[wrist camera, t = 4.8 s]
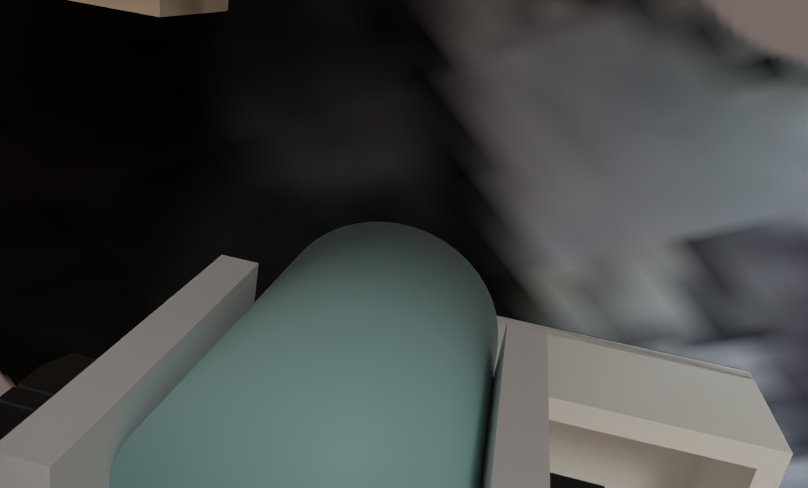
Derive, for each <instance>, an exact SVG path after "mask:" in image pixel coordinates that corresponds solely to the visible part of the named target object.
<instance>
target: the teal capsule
mask: <svg viewBox="0 0 808 488" xmlns="http://www.w3.org/2000/svg"><path fill="white" fill-rule="evenodd" d="M497 347H498V324H497V317H496V312H495V308H494V305H493V301H492V299H491V296H490V294H489V292H488V290H487V287H486V286H485V284H484V282H483V281H482V279H481V277H480V276H479V274H478V273H477V272H476V270H475V269H474V268H473V267H472V265H471V264H470V263H469V262H468V261H467V260H466V259H465V258H464V257H463V256H462V255H461V254H460V253H459V252H458V251H457V250H455V249H454V248H453V247H451V246H450V245H448V244H447V243H446V242H444V241H442V240H441V239H439V238H437V237H435V236H434V235H432V234H430V233H427V232H425V231H422V230H420V229H417V228H414V227H410V226H407V225H403V224H397V223H390V222H365V223H357V224H353V225H349V226H345V227H341V228H339V229H336V230H334V231H331V232H329V233H327V234H325V235H324V236H322V237H320V238H318V239H317V240H315V241H314V242H313V243H312V244H310V245H309V246H308V247H307V248H305V249H304V250H303V251H302V253H301V254H300V255H299V256H298V257H297V258H296V259H295V260H294V261H293V262H292V263H291V264H290V265H289V266H288V267H287V268H286V270H285V271H284V272H283V273H282V274H281V275H280V276H279V277H278V278H277V279H276V280H275V281H274V282H273V283H272V284H271V286H270V287H269V288H268V289H267V290H266V291H265V292H264V293H263V294H262V295H261V296H260V297H259V298H258V299H257V300H256V302H255V303H254V304H253V305H252V306H251V307H250V308H249V309H248V310H247V311H246V312H245V313H244V314H243V315H242V316H241V318H240V319H239V320H238V321H237V322H236V323H235V324H234V325H233V326H232V327H231V328H230V329H229V330H228V331H227V332H226V334H225V335H224V336H223V337H222V338H221V339H220V340H219V341H218V342H217V343H216V344H215V345H214V346H213V347H212V349H211V350H210V351H209V352H208V353H207V354H206V355H205V356H204V357H203V358H202V359H201V360H200V361H199V362H198V363H197V365H196V366H195V367H194V368H193V369H192V370H191V371H190V372H189V373H188V374H187V375H186V376H185V377H184V378H183V379H182V381H181V382H180V383H179V384H178V385H177V386H176V387H175V388H174V389H173V390H172V391H171V392H170V393H169V394H168V395H167V397H166V398H165V399H164V400H163V401H162V402H161V403H160V404H159V405H158V406H157V407H156V408H155V409H154V410H153V411H152V413H151V414H150V415H149V416H148V417H147V418H146V419H145V420H144V421H143V422H142V423H141V424H140V425H139V426H138V427H137V429H136V430H135V431H134V432H133V433H132V434H131V435H130V436H129V437H128V439H127V440H126V442H125V443H124V445H123V446H122V448H121V449H120V451H119V452H118V454H117V456H116V459H115V461H114V463H113V465H112V467H111V470H110V477H109V488H480V487H481V479H482V470H483V462H484V453H485V445H486V436H487V428H488V419H489V411H490V402H491V394H492V385H493V377H494V373H495V364H496V355H497Z"/></svg>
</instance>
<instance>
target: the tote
mask: <svg viewBox="0 0 808 488" xmlns="http://www.w3.org/2000/svg"><path fill="white" fill-rule="evenodd" d="M496 317H497V324H498V347H497V355H496V364H495V369H496V365H497V361H498V357H499V353H500V349H501V345H502V341H503V337H504V333H505V329H506V325H507V322H511V323H515V324H519V325H523V326H528V327H532V328H536V329H540V330H545V331H547V350H548V401H549V453H550V472H551V473H555V474H559V475H562V476H566V477H570V478H574V479H578V480H582V481H586V482H590V483H594V484H598V485H602V486H604V487H605V488H779V486H780V483H781V481H782V479H783V476H784V474H785V472H786V469H787V467H788V464H789V462H790V460H791V457H792V455H793V453H792V451H791V449H790V447H789V445H788V443H787V441H786V440H785V438H784V436H783V434H782V432H781V430H780V428H779V426H778V424H777V422H776V421H775V419H774V417H773V415H772V413H771V411H770V409H769V407H768V405H767V404H766V402H765V400H764V398H763V396H762V394H761V392H760V390H759V388H758V386H757V385H756V383H755V381H754V379H753V377H752V375H751V373H750V372H748V371H744V370H739V369H735V368H730V367H726V366H721V365H717V364H712V363H708V362H703V361H699V360H694V359H690V358H685V357H681V356H676V355H672V354H667V353H663V352H658V351H654V350H649V349H645V348H640V347H636V346H631V345H627V344H622V343H618V342H613V341H609V340H604V339H600V338H595V337H591V336H586V335H582V334H578V333H573V332H569V331H564V330H560V329H555V328H551V327H546V326H542V325H537V324H533V323H528V322H524V321H519V320H515V319H510V318H506V317H501V316H497V315H496Z"/></svg>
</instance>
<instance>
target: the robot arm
mask: <svg viewBox="0 0 808 488" xmlns="http://www.w3.org/2000/svg"><path fill="white" fill-rule="evenodd" d="M258 264H259V263H255V262H251V261H246V260H242V259H238V258H234V257H229V256H225V255H221V256H220V257H219V258H217V259H216V260H215V261H214V262H213V263H212V264H210V265H209V266H208V267H207V268H206V269H204V270H203V271H202V272H201V273H200V274H198V275H197V276H196V277H195V278H194V279H192V280H191V281H190V282H189V283H188V284H186V285H185V286H184V287H183V288H182V289H180V290H179V291H178V292H177V293H176V294H174V295H173V296H172V297H171V298H170V299H168V300H167V301H166V302H165V303H164V304H163V305H161V306H160V307H159V308H158V309H157V310H155V311H154V312H153V313H152V314H151V315H149V316H148V317H147V318H146V319H145V320H143V321H142V322H141V323H140V324H139V325H137V326H136V327H135V328H134V329H133V330H131V331H130V332H129V333H128V334H127V335H125V336H124V337H123V338H122V339H121V340H120V341H118V342H117V343H116V344H115V345H114V346H112V347H111V348H110V349H109V350H108V351H106V352H105V353H104V354H103V355H102V356H100V357H99V358H98V359H94V358H90V357H86V356H82V355H79V354H75V353H73V354H70V355H68V356H65V357H62V358H60V359H57V360H55V361H52V362H49V363H47V364H44V365H41V366H40V367H39V368H38V369H36V370H35V371H34V372H32V373H31V374H30V375H28V376H27V377H26V378H24V379H23V380H22V381H20V382H19V383H18V386H17V387H12V388H11V389H10V390H8V391H7V392H6V393H4V394H3V395H2V396H1V397H0V488H109V477H110V470H111V467H112V465H113V463H114V461H115V459H116V456H117V454H118V452H119V451H120V449H121V448H122V446H123V445H124V443H125V442H126V440H127V439H128V437H129V436H130V435H131V434H132V433H133V432H134V431H135V430H136V429H137V427H138V426H139V425H140V424H141V423H142V422H143V421H144V420H145V419H146V418H147V417H148V416H149V415H150V414H151V413H152V411H153V410H154V409H155V408H156V407H157V406H158V405H159V404H160V403H161V402H162V401H163V400H164V399H165V398H166V397H167V395H168V394H169V393H170V392H171V391H172V390H173V389H174V388H175V387H176V386H177V385H178V384H179V383H180V382H181V381H182V379H183V378H184V377H185V376H186V375H187V374H188V373H189V372H190V371H191V370H192V369H193V368H194V367H195V366H196V365H197V363H198V362H199V361H200V360H201V359H202V358H203V357H204V356H205V355H206V354H207V353H208V352H209V351H210V350H211V349H212V347H213V346H214V345H215V344H216V343H217V342H218V341H219V340H220V339H221V338H222V337H223V336H224V335H225V334H226V332H227V331H228V330H229V329H230V328H231V327H232V326H233V325H234V324H235V323H236V322H237V321H238V320H239V319H240V318H241V316H242V315H243V314H244V313H245V312H246V311H247V310H248V309H249V308H250V307H251V306H252V305H253V304H254V300H255V291H256V282H257V273H258ZM480 488H605V487H604V486H602V485H598V484H594V483H590V482H586V481H582V480H578V479H574V478H570V477H566V476H562V475H559V474H555V473H551V472H550V453H549V401H548V350H547V331H545V330H540V329H536V328H532V327H528V326H523V325H519V324H515V323H511V322H507V325H506V329H505V333H504V337H503V341H502V345H501V349H500V353H499V357H498V361H497V365H496V369H495V373H494V377H493V385H492V394H491V402H490V411H489V419H488V428H487V436H486V445H485V453H484V462H483V470H482V479H481V487H480Z"/></svg>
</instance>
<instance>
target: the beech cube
mask: <svg viewBox="0 0 808 488" xmlns="http://www.w3.org/2000/svg"><path fill="white" fill-rule="evenodd" d="M70 1H75V2H80V3H86V4H91V5H97V6H102V7H108V8H113V9H118V10H124V11H129V12H135V13H140V14H145V15H151V16H156V17H166V16H177V15H188V14H199V13H210V12H221V11H228V0H70Z"/></svg>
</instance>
